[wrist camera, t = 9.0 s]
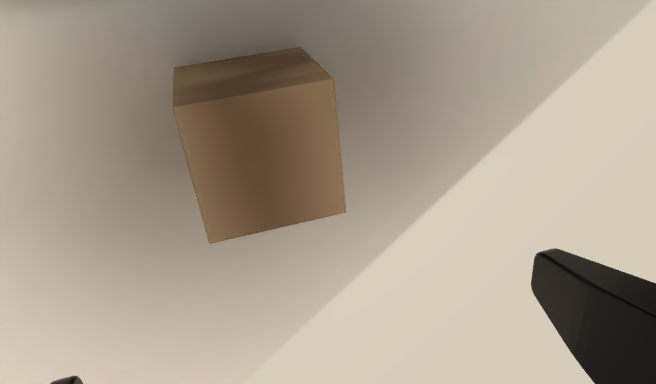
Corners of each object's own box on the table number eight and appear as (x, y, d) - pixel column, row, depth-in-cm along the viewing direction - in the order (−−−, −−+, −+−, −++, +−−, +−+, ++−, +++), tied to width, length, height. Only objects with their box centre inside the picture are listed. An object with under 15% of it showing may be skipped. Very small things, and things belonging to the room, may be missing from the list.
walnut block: (300, 47, 20) (333, 78, 15) (313, 158, 22) (345, 212, 18) (174, 67, 19) (172, 107, 15) (203, 180, 21) (209, 243, 17)
